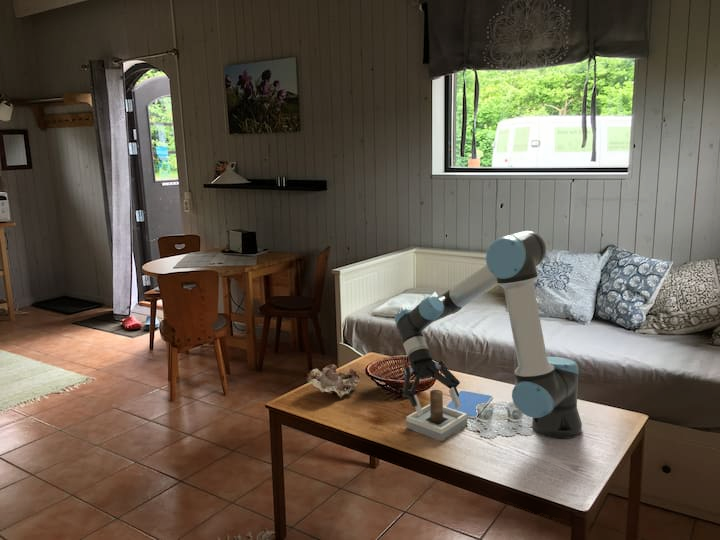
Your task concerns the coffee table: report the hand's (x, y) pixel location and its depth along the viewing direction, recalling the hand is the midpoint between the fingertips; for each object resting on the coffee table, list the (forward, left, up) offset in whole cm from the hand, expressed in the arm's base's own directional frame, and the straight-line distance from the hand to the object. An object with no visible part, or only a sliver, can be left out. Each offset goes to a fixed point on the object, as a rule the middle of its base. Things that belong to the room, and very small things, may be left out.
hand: (439, 411), depth 196 cm
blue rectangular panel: (+4, -21, -7) cm, 23 cm away
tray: (+2, -1, -6) cm, 7 cm away
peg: (+2, -1, -6) cm, 7 cm away
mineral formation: (+48, +1, -7) cm, 48 cm away
